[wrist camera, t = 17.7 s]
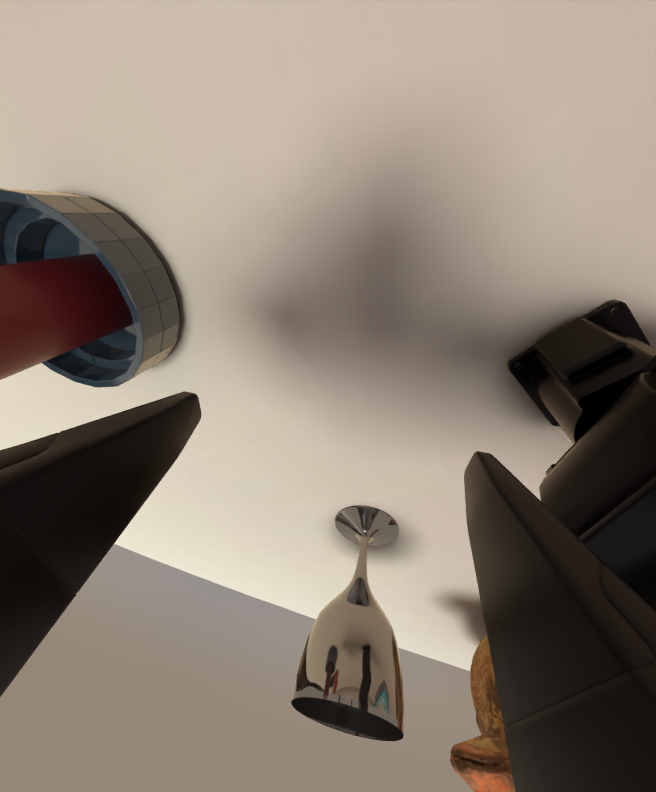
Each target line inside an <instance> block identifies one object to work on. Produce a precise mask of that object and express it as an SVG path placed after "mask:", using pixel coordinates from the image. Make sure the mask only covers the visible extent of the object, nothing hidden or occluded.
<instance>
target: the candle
mask: <svg viewBox="0 0 656 792" xmlns="http://www.w3.org/2000/svg"><path fill="white" fill-rule="evenodd" d="M132 324H133V321H132V317H131V312H130V309H129V307H128V305H127V303H126V301H125V299H124V297H123V295H122V293H121V291H120V289H119V288H118V286H117V284H116V282H115V280H114V278H113V277H112V276H111V274H110V273H109V272H108V270H107V269H106V268H105V267H104V265H103V264H102V263H101V261H100V260H99V259H98V258H97V256H96V255H93V254H84V255H76V256H68V257H61V258H53V259H45V260H37V261H30V262H22V263H14V264H6V265H0V380H1V379H3V378H6V377H8V376H11V375H13V374H15V373H18V372H20V371H23V370H25V369H27V368H30V367H32V366H35V365H37V364H40V363H42V362H44V361H47V360H49V359H52V358H54V357H56V356H59V355H61V354H64V353H66V352H68V351H71V350H73V349H76V348H78V347H80V346H83V345H85V344H88V343H90V342H92V341H95V340H97V339H100V338H102V337H104V336H107V335H109V334H112V333H114V332H116V331H119V330H121V329H124V328H126V327H128V326H130V325H132Z"/></svg>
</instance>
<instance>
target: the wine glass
mask: <svg viewBox="0 0 656 792" xmlns="http://www.w3.org/2000/svg"><path fill="white" fill-rule="evenodd" d="M335 525H336V527H337V529H338V531H339V532H340V533H341V534H342V535H343V536H344V537H345V538H347V539H349V540H350V541H353V542H355V543H358V544H360V552H359V557H358V562H357V566H356V570H355V574H354V577H353V579H352V581H351V582H350V584H349V585H348V586H347V588H346V589H345V590H344V591H343V592H342V593H340V594H339V595H338V596H337V597H336V598H335V599H333V600H332V601H331V602H330V603H329V604H327V605H326V606H325V607H324V609H323V610H322V611H321V612H320V613H319V615H318V617H317V619H316V621H315V622H314V625H313V627H312V629H311V632H310V634H309V637H308V640H307V643H306V645H305V648H304V651H303V654H302V657H301V661H300V665H299V669H298V673H297V677H296V681H295V686H294V690H293V696H292V705H293V707H294V708H295V709H296V710H297V711H299V712H300V713H301V714H303V715H305V716H306V717H308V718H310V719H312V720H314V721H316V722H318V723H320V724H323V725H325V726H328V727H330V728H333V729H336V730H339V731H342V732H345V733H348V734H352V735H355V736H360V737H363V738H368V739H374V740H381V741H397V740H400V739H402V738H403V733H404V702H403V681H402V672H401V663H400V657H399V652H398V645H397V641H396V637H395V634H394V631H393V628H392V626H391V624H390V622H389V620H388V619H387V617H386V615H385V614H384V612H383V611H382V609H381V608H380V606H379V604H378V603H377V601H376V600H375V598H374V596H373V594H372V592H371V590H370V587H369V584H368V579H367V547H368V546H381V545H385V544H388V543H390V542H392V541H393V540H394V539H395V538H396V537H397V535H398V526H397V524H396V522H395V521H394V520H393V518H392V517H390V516H389V515H388V514H386V513H385V512H383V511H380V510H378V509H375V508H372V507H367V506H353V507H348V508H345V509H343V510H341V511H340V512H339V513H338V514H337V516H336V518H335Z"/></svg>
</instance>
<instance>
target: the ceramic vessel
mask: <svg viewBox="0 0 656 792" xmlns="http://www.w3.org/2000/svg"><path fill="white" fill-rule="evenodd" d="M470 672H471V694H472V698H473V702H474V706H475V710H476V721H477V724H478V727H479V730H480V732H481V734H482V736H479V737H476V738H473V739H470V740H467V741H464V742H462V743H459V744H456V745H454V746H453V748H452V750H451V758H450V761H451V764H452V767H453V768H454V770H455V771H456V772H457V773H458V774H459V775H460V776H461V777H462V778H463V779H464V780H465V781H466V783H467V784H468V785H469V786H470V787H471V788H472V789H473V790H474V792H515V788H514V782H513V777H512V771H511V766H510V760H509V755H508V749H507V744H506V738H505V733H504V728H505V727H504V725H503V720H502V715H501V709H500V704H499V698H498V693H497V687H496V682H495V676H494V671H493V665H492V660H491V654H490V649H489V643H488V638H487V635H486V636H485V637H484V638H483V639H482V641H481V642H480V644H479V646H478V647H477V649H476V651H475V654H474V656H473V660H472V665H471V669H470Z"/></svg>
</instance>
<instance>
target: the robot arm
mask: <svg viewBox="0 0 656 792" xmlns="http://www.w3.org/2000/svg"><path fill="white" fill-rule="evenodd" d="M614 307H617V310H616V311H615V312H614V313H610V312H611V310H612V309H613V308H614ZM517 363H520V365H519V366H518V367H516V368H513V366H514V365H515V364H517ZM507 367H508V369H509V370H510V372H511V373H512V374H513V376H514V377H515V378H516V379H517V381H518V382H519V383H520V385H521V386H522V387H523V388H524V390H525V391H526V392H527V393H528V395H529V396H530V397H531V399H532V400H533V401H534V402H535V404H536V405H537V406H538V408H539V409H540V410H541V411H542V413H543V414H544V415H545V416H546V418H547V419H548V420H549V422H550V423H551V424H552V425H554V426H561V427H562V429H563V430H564V431H565V433H566V434H567V435H568V436H569V438H570V439H571V440H572V442H573V443H574V444H573V445H572V447H571V448H570V449H569V450H568V451H567V452H566V453H565V454H564V455H563V456H562V457H561V458H560V460H559V461H558V462H557V463H556V464H552V465H551V466H550V467H549V468H548V470H547V471H546V475H547V476H546V477H545V478H544V479H543V481H542V483H541V485H540V487H539V489H540V496H541V501H540V500H539V499H538V498H537V497H536V496H535V495H534V494H532V493H531V492H530V491H529V490H528V489H527V488H526V487H525V486H524V485H523V484H522V483H521V482H520V481H519V480H518V479H517V478H516V477H515V476H514V475H513V474H512V473H511V472H510V471H508V470H507V469H506V468H505V467H504V466H503V465H502V464H501V463H500V462H499V461H498V460H497V459H496V458H495V457H494V456H493V455H491V454H489V453H484V452H479V451H477V452H475V453H474V454H473V456H472V458H471V460H470V462H469V464H468V466H467V468H466V470H465V474H464V483H465V500H466V516H467V526H468V533H469V538H470V544H471V549H472V555H473V560H474V566H475V572H476V577H477V583H478V588H479V594H480V599H481V605H482V610H483V616H484V621H485V627H486V632H487V638H488V643H489V649H490V654H491V660H492V665H493V671H494V676H495V682H496V687H497V693H498V698H499V704H500V709H501V715H502V720H503V725H504V727H505V728H504V733H505V738H506V744H507V749H508V755H509V760H510V766H511V771H512V777H513V782H514V788H515V792H656V349H655V348H653V347H651V346H650V344H649V342H648V341H647V339H646V337H645V335H644V334H643V332H642V330H641V329H640V327H639V325H638V323H637V322H636V320H635V318H634V317H633V315H632V313H631V311H630V310H629V308H628V306H627V305H626V304H625V303H623V302H621V301H617V300H614V301H610V302H608V303H606V304H605V305H603V306H601V307H599V308H598V309H596V310H594V311H593V312H591V313H589V314H588V315H586V316H584V317H582V318H577V319H576V320H574V321H572V322H571V323H569V324H567V325H565V326H564V327H562V328H560V329H559V330H557V331H555V332H554V333H552V334H550V335H548V336H547V337H545V338H543V339H542V340H540V341H538V342H537V343H536V345H535V346H533V347H531V348H530V349H528V350H526V351H524V352H523V353H521V354H519V355H518V356H516V357H514V358H513V359H511V360H510V361H509V362H508V364H507ZM200 419H201V409H200V404H199V399H198V396H197V395H196V394H195V393H190V392H181V393H178V394H175V395H172V396H169V397H166V398H163V399H160V400H157V401H154V402H151V403H147V404H144V405H141V406H138V407H135V408H132V409H129V410H126V411H123V412H120V413H117V414H114V415H111V416H108V417H104V418H101V419H98V420H95V421H92V422H89V423H86V424H83V425H80V426H77V427H74V428H71V429H68V430H65V431H61V432H60V433H55V434H52V435H49V436H46V437H43V438H40V439H37V440H33V441H30V442H27V443H24V444H21V445H17V446H14V447H10V448H7V449H4V450H0V697H1V695H2V694H3V693H4V691H5V690H6V689H7V687H8V686H9V685H10V683H11V682H12V681H13V679H14V678H15V677H16V675H17V674H18V673H19V671H20V670H21V669H22V667H23V666H24V664H25V663H26V662H27V660H28V659H29V658H30V656H31V655H32V654H33V652H34V651H35V650H36V648H37V647H38V646H39V644H40V643H41V642H42V640H43V639H44V637H45V636H46V635H47V633H48V632H49V631H50V629H51V628H52V627H53V625H54V624H55V623H56V621H57V620H58V619H59V617H60V616H61V615H62V613H63V612H64V611H65V609H66V608H67V606H68V605H69V604H70V602H71V601H72V600H73V598H74V597H75V596H76V593H77V592H78V591H79V590H80V589H81V587H82V586H83V585H84V583H85V582H86V580H87V579H88V578H89V577H90V575H91V574H92V572H93V571H94V570H95V568H96V567H97V566H98V564H99V563H100V562H101V560H102V559H103V558H104V556H105V555H106V554H107V552H108V551H109V550H110V548H111V547H112V546H113V544H114V543H115V542H116V540H117V539H118V537H119V536H120V535H121V533H122V532H123V531H124V529H125V528H126V527H127V525H128V524H129V523H130V521H131V520H132V519H133V517H134V516H135V515H136V513H137V512H138V511H139V509H140V508H141V506H142V505H143V504H144V502H145V501H146V500H147V498H148V497H149V496H150V494H151V493H152V492H153V490H154V489H155V488H156V486H157V485H158V484H159V482H160V481H161V480H162V478H163V477H164V475H165V474H166V473H167V471H168V470H169V469H170V467H171V466H172V465H173V463H174V462H175V461H176V459H177V458H178V456H179V455H180V453H181V451H182V450H183V448H184V446H185V445H186V443H187V441H188V440H189V438H190V436H191V435H192V433H193V431H194V429H195V428H196V426H197V424H198V423H199V421H200ZM555 419H556V420H555Z"/></svg>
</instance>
